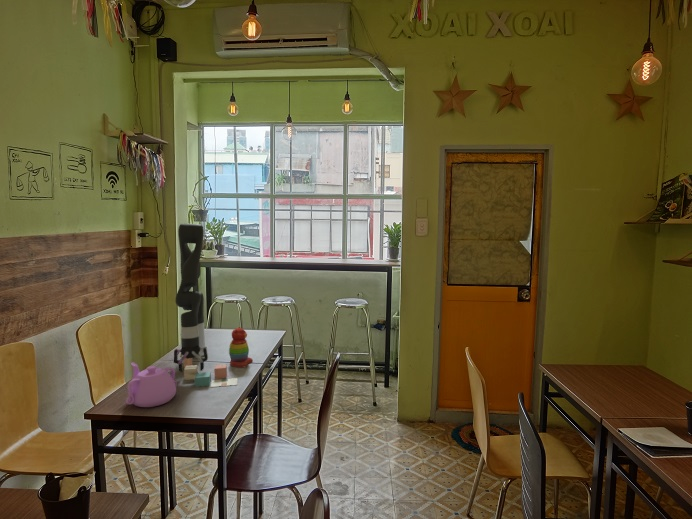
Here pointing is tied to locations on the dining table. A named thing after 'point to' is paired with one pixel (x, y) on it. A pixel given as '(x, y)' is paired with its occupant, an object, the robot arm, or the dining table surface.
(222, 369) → the red block
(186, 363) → the grandmother figurine
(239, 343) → the stacking bear
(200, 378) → the teal base brick
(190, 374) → the maple block
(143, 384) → the teapot
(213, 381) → the page
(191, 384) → the dining table surface
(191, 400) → the dining table surface
